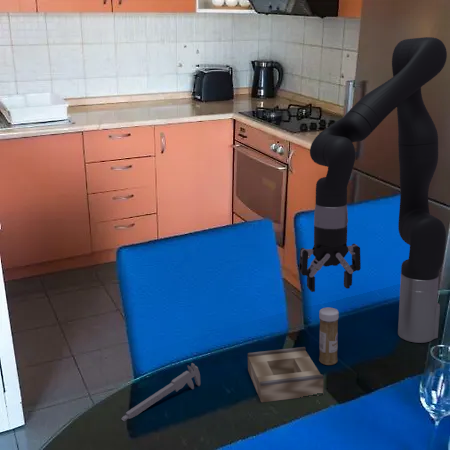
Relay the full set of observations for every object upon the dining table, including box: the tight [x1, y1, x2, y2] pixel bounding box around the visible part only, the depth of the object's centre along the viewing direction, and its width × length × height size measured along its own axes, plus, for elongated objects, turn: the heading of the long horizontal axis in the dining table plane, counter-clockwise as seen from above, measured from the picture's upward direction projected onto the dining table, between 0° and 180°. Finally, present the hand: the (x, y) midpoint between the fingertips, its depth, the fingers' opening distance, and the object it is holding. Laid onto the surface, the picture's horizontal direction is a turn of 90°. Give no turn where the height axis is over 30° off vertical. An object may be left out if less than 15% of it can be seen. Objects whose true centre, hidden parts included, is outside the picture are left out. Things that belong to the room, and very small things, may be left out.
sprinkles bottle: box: [318, 307, 340, 366], centre depth 143 cm, size 5×5×13 cm
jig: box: [247, 346, 324, 403], centre depth 135 cm, size 14×14×5 cm
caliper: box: [121, 362, 201, 422], centre depth 129 cm, size 20×1×6 cm, turn 131°
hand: (329, 289), depth 139 cm, fingers open, 8 cm apart
